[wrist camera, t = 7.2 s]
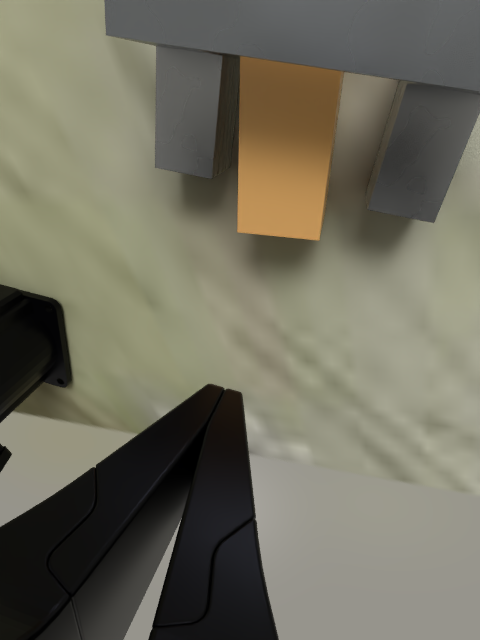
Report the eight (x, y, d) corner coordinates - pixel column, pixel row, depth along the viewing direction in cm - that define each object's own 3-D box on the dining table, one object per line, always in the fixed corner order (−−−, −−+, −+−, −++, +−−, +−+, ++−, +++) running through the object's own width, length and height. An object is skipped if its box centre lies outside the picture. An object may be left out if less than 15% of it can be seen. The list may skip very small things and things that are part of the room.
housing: (422, 204, 15) (453, 254, 10) (180, 157, 16) (113, 184, 12) (500, 3, 12) (595, -52, 7) (188, -34, 13) (99, -100, 8)
